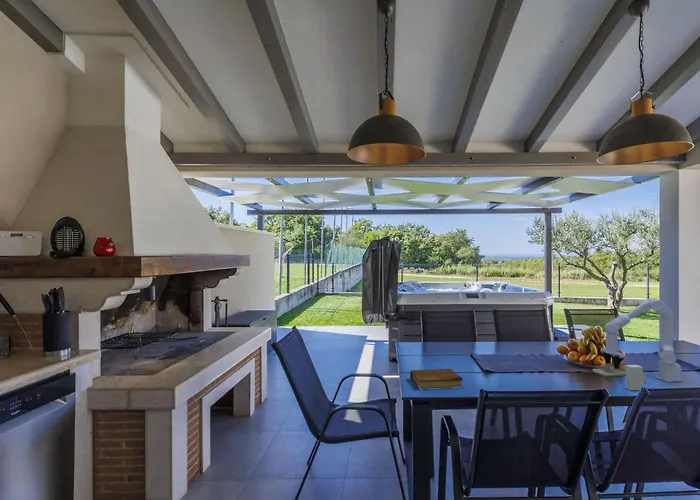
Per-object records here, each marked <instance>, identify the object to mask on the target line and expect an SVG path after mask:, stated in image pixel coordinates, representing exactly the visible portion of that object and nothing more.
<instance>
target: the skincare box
mask: <svg viewBox="0 0 700 500" xmlns="http://www.w3.org/2000/svg"><path fill="white" fill-rule="evenodd" d="M643 372H644V369H643V366H641V365H638V364H627V365H626V375H625V383H626V384H625V387H626V389H627V388H628V389H627V390H629V389H630V390H629V391H631V390H637V391H636V392H638V391H639V390H640V389H641V388H642V387H643V388H644V383H643ZM639 392H640V391H639Z"/></svg>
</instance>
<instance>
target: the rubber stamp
mask: <svg viewBox="0 0 700 500" xmlns="http://www.w3.org/2000/svg"><path fill="white" fill-rule="evenodd" d="M646 383H647V381H646V372H645V371H643V384H646Z"/></svg>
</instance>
